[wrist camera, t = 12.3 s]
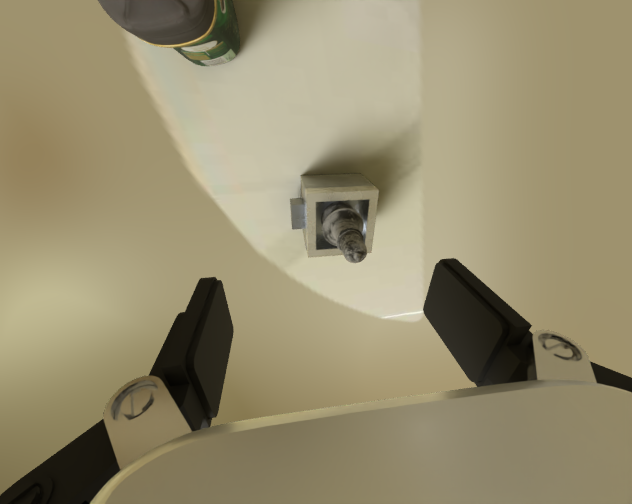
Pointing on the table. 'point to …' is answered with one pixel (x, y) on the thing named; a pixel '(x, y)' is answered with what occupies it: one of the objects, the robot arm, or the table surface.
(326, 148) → the table surface
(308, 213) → the grey open box
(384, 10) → the table surface
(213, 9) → the coffee jar
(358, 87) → the table surface
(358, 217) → the dark grey turned piece
